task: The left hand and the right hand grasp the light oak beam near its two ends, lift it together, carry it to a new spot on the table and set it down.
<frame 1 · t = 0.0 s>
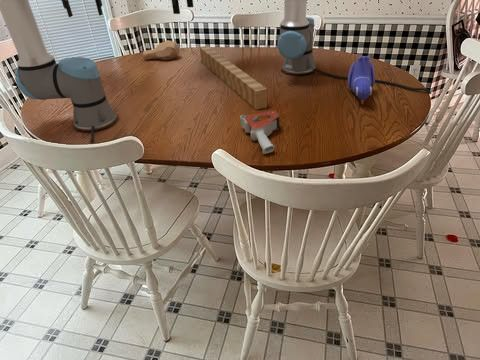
left hand: (85, 15, 157), 28 cm above the table, tool pointing down, fingers open, 13 cm apart
right hand: (183, 10, 155), 28 cm above the table, tool pointing down, fingers open, 13 cm apart
beam: (229, 80, 161), on the table
toy: (359, 97, 139), on the table
tape dispenser: (260, 136, 118), on the table
squash: (162, 59, 193), on the table
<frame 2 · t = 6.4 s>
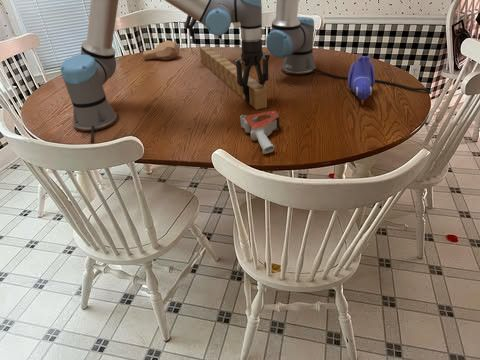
left hand: (253, 100, 141), 1 cm above the table, tool pointing down, fingers closed on beam, 5 cm apart
right hand: (207, 40, 174), 12 cm above the table, tool pointing down, fingers open, 13 cm apart
beam: (229, 80, 161), on the table, touching left hand
everything else where it was.
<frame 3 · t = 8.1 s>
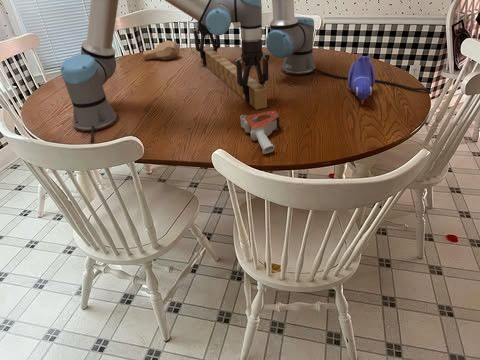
left hand: (253, 100, 141), 1 cm above the table, tool pointing down, fingers closed on beam, 5 cm apart
right hand: (209, 63, 180), 1 cm above the table, tool pointing down, fingers closed on beam, 5 cm apart
beam: (229, 80, 161), on the table, touching left hand, right hand
everything else where it was.
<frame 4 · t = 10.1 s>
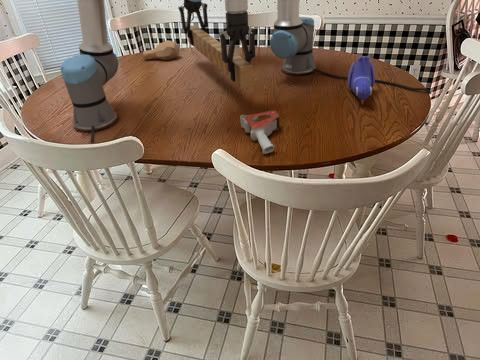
left hand: (239, 78, 133), 11 cm above the table, tool pointing down, fingers closed on beam, 5 cm apart
right hand: (197, 43, 172), 11 cm above the table, tool pointing down, fingers closed on beam, 5 cm apart
beam: (215, 60, 153), point 10 cm above the table, touching left hand, right hand
everything else where it was.
when the left hand's fingers open (2 cm above the table, at t = 13.8 s): beam drops 1 cm, on the table.
when the right hand's fingers open (2 cm above the table, at t = 13.8 s): beam drops 1 cm, on the table.
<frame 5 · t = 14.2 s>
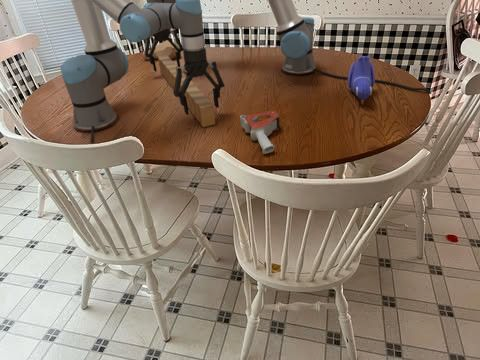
left hand: (201, 109, 130), 3 cm above the table, tool pointing down, fingers open, 11 cm apart
right hand: (167, 68, 169), 3 cm above the table, tool pointing down, fingers open, 11 cm apart
beam: (183, 93, 152), on the table
everything else where it was.
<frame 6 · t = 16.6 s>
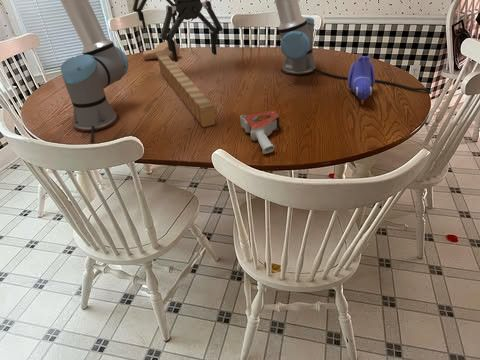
left hand: (195, 57, 119), 22 cm above the table, tool pointing down, fingers open, 13 cm apart
right hand: (159, 26, 158), 22 cm above the table, tool pointing down, fingers open, 13 cm apart
nothing on the table moved.
at the end: beam inside the target area (0.0 cm from its centre), on the table; beam tilted 0°; beam never tilted more than 1° during the clip; both hands held the beam at the same time; the left hand is holding nothing; the right hand is holding nothing; beam at rest at the end (0.0 cm/s) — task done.
